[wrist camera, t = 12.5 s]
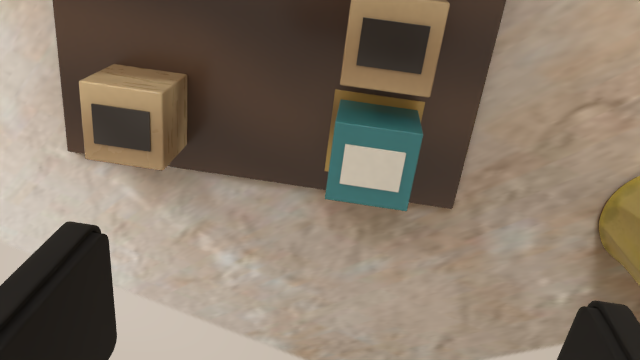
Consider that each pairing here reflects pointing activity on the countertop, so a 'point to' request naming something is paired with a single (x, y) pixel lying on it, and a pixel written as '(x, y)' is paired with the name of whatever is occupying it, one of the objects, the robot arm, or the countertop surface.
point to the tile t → (394, 45)
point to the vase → (623, 227)
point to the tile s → (374, 155)
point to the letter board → (275, 81)
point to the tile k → (134, 116)
